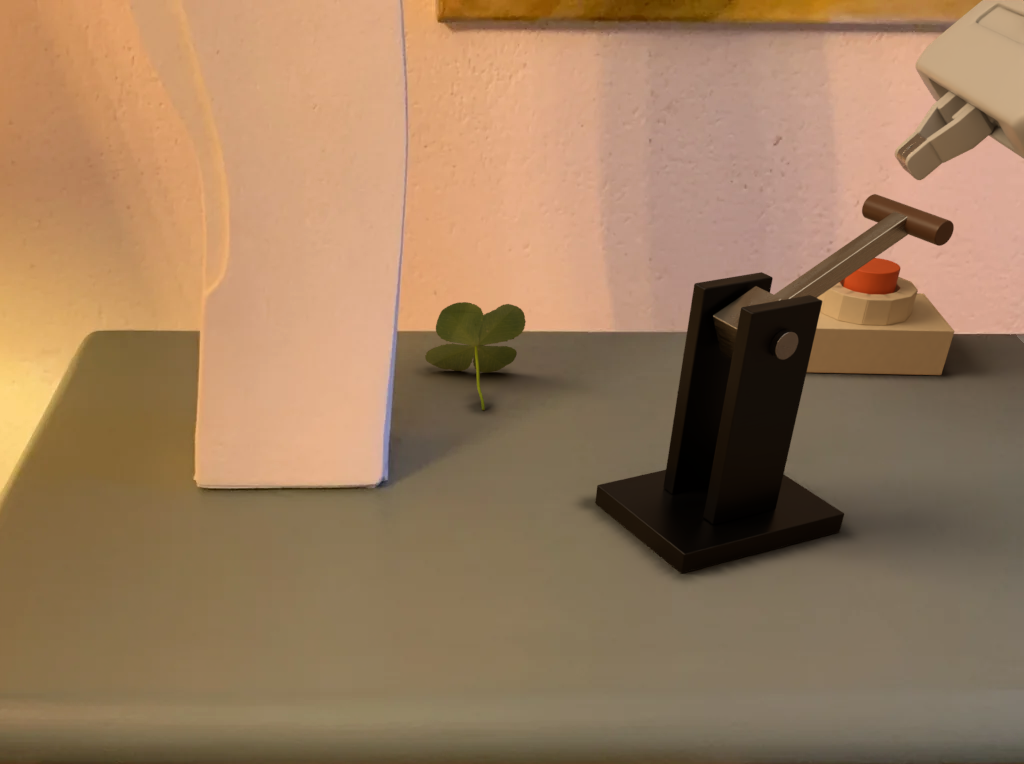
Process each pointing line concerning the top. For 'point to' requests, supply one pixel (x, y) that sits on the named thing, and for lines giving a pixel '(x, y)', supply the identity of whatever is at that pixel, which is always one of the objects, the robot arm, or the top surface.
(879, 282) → the button
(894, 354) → the button block
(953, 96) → the robot arm
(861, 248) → the lever handle
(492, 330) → the seedling
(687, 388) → the black lever stand
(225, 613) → the top surface
